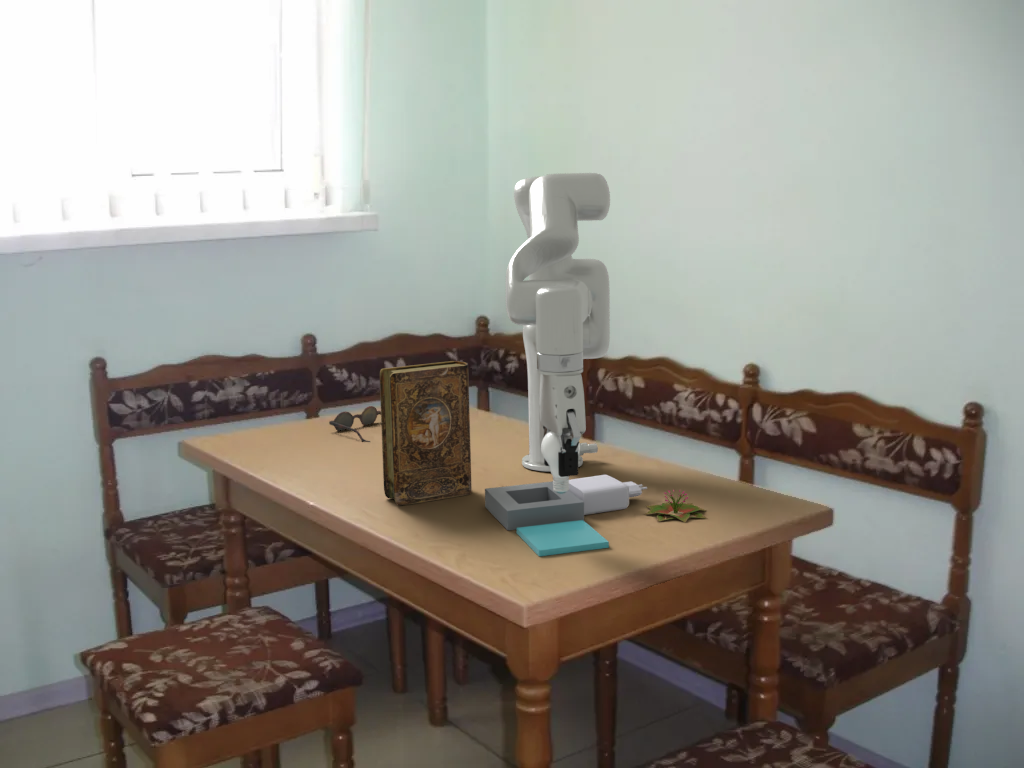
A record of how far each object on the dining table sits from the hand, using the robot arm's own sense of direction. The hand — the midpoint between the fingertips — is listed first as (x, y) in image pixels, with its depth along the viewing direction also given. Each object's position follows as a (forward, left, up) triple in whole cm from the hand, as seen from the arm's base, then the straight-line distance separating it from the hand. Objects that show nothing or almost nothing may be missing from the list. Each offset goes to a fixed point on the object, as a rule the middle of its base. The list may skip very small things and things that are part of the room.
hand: (561, 469), depth 186 cm
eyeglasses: (+16, -87, -13) cm, 89 cm away
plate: (0, 0, -12) cm, 12 cm away
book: (+15, -32, -13) cm, 38 cm away
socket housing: (0, -15, -12) cm, 19 cm away
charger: (-15, -16, -13) cm, 25 cm away
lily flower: (-24, -7, -13) cm, 28 cm away
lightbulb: (0, 0, -4) cm, 4 cm away
